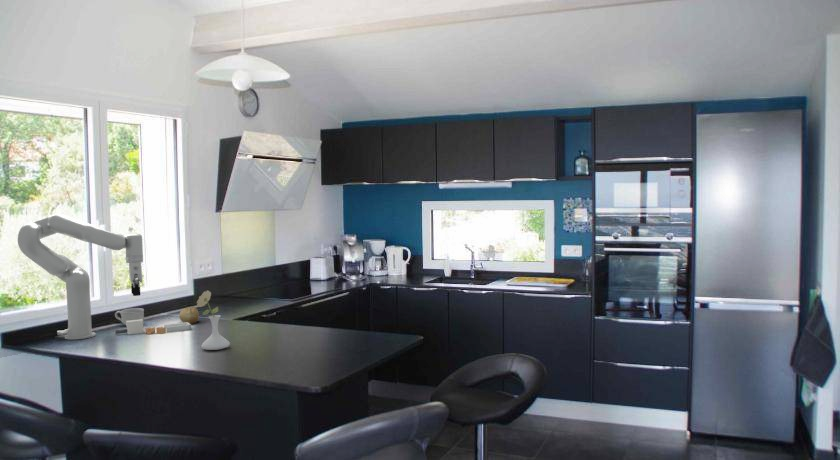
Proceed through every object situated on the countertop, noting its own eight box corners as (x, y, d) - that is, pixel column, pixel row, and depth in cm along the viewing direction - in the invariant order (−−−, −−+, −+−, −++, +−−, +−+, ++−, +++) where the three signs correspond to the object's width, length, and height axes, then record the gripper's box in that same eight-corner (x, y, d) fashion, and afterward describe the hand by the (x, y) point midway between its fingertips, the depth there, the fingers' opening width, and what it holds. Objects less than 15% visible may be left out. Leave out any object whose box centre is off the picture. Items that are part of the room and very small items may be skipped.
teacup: (148, 323, 325) (147, 307, 325) (137, 327, 314) (136, 311, 314) (123, 323, 327) (122, 308, 326) (111, 327, 316) (110, 311, 316)
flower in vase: (220, 344, 269) (217, 287, 268) (235, 348, 262) (233, 288, 261) (192, 350, 259) (189, 290, 258) (207, 354, 251) (205, 292, 250)
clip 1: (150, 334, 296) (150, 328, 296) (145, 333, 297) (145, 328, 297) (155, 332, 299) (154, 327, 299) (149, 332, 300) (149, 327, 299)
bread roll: (197, 319, 333) (196, 304, 332) (201, 324, 319) (200, 308, 319) (178, 321, 328) (177, 306, 328) (180, 326, 315) (180, 310, 315)
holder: (167, 332, 298) (166, 327, 298) (164, 329, 306) (164, 324, 306) (191, 329, 304) (190, 324, 304) (187, 327, 311) (187, 322, 311)
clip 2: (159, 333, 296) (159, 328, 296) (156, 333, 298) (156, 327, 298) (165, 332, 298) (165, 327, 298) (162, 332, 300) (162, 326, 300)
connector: (116, 336, 294) (115, 323, 294) (115, 334, 297) (114, 322, 297) (143, 332, 300) (143, 320, 300) (142, 331, 303) (142, 319, 303)
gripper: (144, 260, 297) (146, 295, 298) (141, 257, 312) (142, 291, 313) (127, 261, 294) (128, 297, 294) (124, 258, 309) (126, 293, 309)
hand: (135, 294), depth 304 cm, fingers open, 9 cm apart
